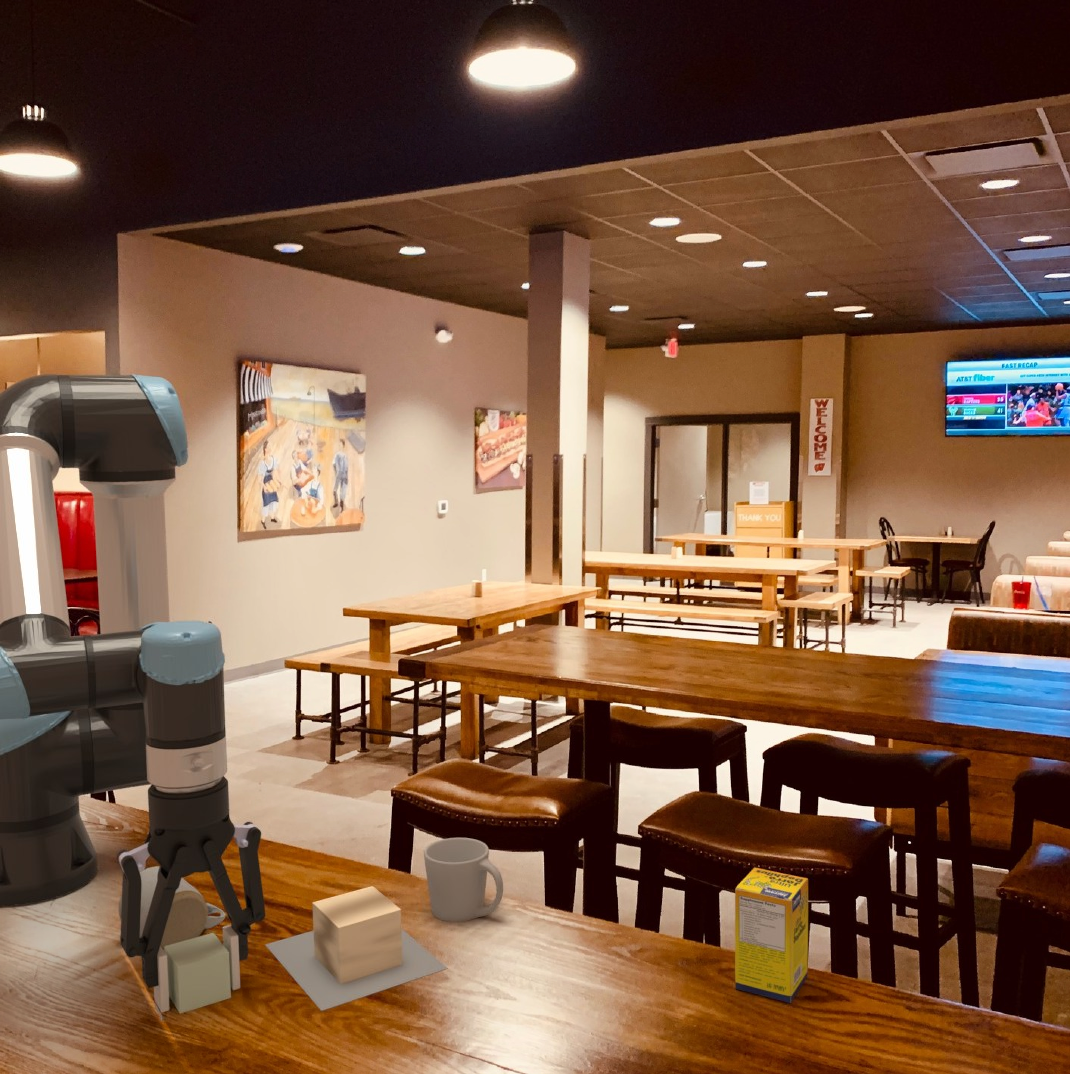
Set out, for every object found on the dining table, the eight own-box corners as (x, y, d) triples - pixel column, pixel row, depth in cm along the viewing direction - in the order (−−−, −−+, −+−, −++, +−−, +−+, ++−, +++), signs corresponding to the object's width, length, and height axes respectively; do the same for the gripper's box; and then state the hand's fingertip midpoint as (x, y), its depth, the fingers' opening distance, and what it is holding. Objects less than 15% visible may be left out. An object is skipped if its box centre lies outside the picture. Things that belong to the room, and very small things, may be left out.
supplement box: (808, 978, 109) (809, 877, 108) (791, 1005, 104) (792, 900, 103) (753, 963, 112) (754, 865, 111) (733, 989, 107) (734, 887, 106)
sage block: (166, 1002, 106) (163, 946, 105) (216, 987, 108) (213, 932, 108) (180, 1026, 102) (177, 967, 101) (231, 1009, 104) (228, 952, 104)
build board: (265, 955, 115) (265, 944, 115) (381, 920, 123) (381, 910, 123) (321, 1022, 102) (321, 1010, 102) (447, 979, 109) (447, 968, 109)
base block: (314, 956, 112) (312, 902, 112) (374, 937, 116) (372, 886, 115) (340, 984, 106) (338, 927, 106) (402, 964, 110) (401, 909, 110)
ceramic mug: (152, 966, 113) (150, 898, 112) (118, 941, 118) (116, 876, 118) (240, 933, 120) (238, 869, 120) (204, 911, 126) (202, 849, 125)
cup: (450, 899, 128) (448, 832, 127) (519, 918, 123) (518, 848, 122) (412, 925, 121) (410, 855, 121) (483, 946, 116) (482, 872, 115)
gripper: (91, 813, 94) (104, 1053, 97) (296, 772, 105) (303, 989, 107) (75, 789, 100) (88, 1015, 103) (270, 752, 111) (277, 958, 113)
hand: (198, 1001), depth 105 cm, fingers open, 6 cm apart
